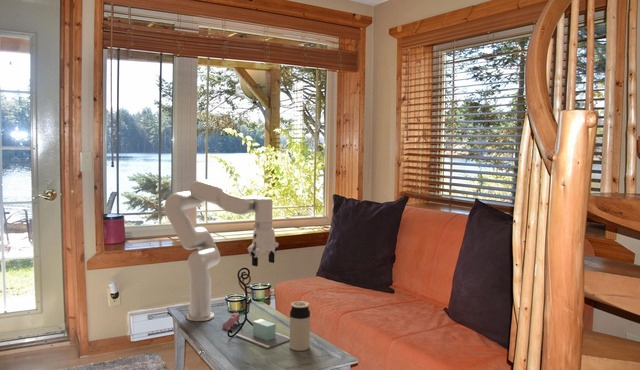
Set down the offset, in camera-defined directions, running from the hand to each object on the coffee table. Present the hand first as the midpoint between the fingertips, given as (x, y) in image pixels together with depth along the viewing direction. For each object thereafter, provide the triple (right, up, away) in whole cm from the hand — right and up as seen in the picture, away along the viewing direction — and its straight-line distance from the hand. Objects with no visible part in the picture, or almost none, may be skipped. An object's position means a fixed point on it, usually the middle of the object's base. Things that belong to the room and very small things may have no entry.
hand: (263, 264), depth 245 cm
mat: (+2, -29, -12) cm, 32 cm away
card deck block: (+2, -29, -12) cm, 31 cm away
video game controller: (-14, -28, +3) cm, 32 cm away
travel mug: (+17, -31, -22) cm, 41 cm away
